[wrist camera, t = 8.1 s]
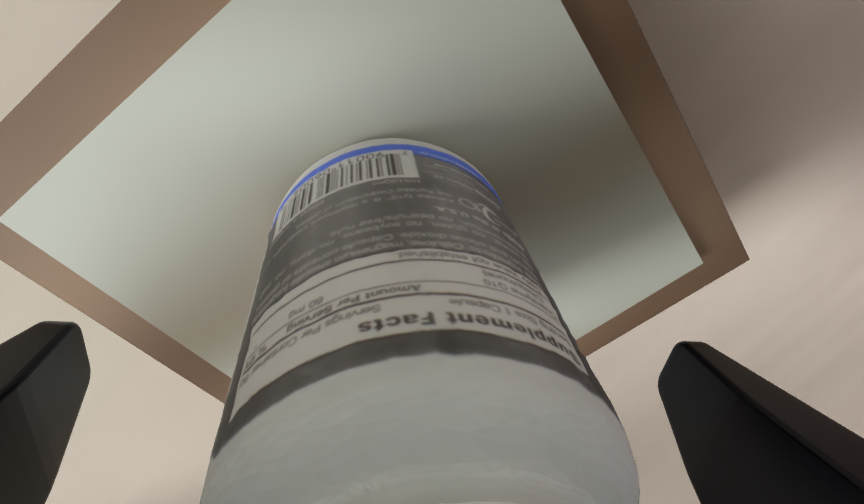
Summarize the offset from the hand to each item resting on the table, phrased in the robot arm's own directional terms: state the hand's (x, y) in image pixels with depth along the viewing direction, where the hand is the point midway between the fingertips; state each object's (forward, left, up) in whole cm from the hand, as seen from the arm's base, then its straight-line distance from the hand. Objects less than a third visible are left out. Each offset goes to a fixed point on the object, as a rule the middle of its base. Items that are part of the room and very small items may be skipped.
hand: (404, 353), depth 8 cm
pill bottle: (0, 0, -3) cm, 3 cm away
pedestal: (0, 0, -6) cm, 6 cm away
